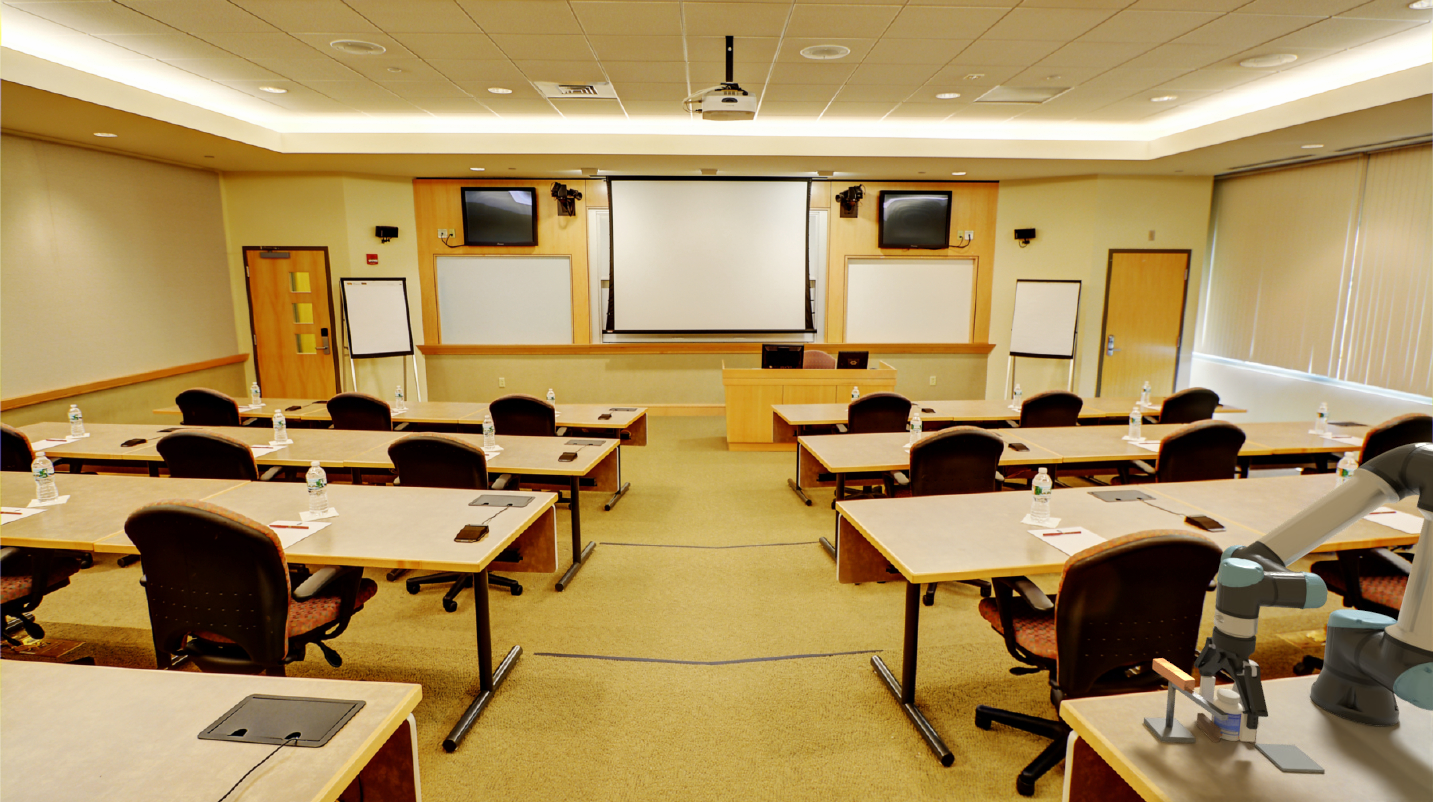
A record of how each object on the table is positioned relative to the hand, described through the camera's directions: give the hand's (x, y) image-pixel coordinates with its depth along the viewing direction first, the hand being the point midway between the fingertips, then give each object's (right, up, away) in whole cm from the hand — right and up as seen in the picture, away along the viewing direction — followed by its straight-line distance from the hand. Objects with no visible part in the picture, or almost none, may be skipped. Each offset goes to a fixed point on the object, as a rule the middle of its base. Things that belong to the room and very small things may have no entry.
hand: (1225, 720), depth 149 cm
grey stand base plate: (-12, -3, +1) cm, 12 cm away
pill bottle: (0, -3, 0) cm, 3 cm away
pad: (+7, -4, -8) cm, 12 cm away
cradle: (0, -3, 0) cm, 3 cm away
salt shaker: (+10, -2, +8) cm, 13 cm away
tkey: (-11, -2, -3) cm, 12 cm away
